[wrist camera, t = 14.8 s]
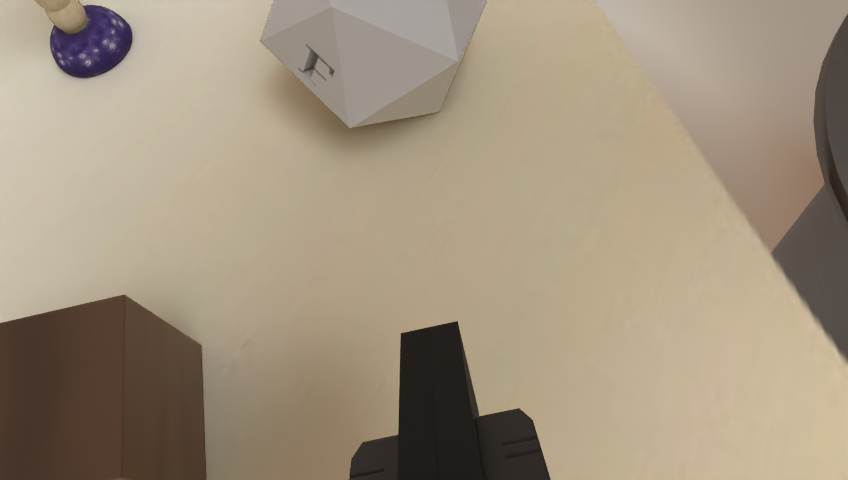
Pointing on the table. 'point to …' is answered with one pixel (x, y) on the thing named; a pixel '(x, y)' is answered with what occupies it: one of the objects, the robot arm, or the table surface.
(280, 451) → the table surface
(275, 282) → the table surface
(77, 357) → the walnut block
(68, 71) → the toy lamp
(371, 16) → the die
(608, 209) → the table surface
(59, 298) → the table surface
